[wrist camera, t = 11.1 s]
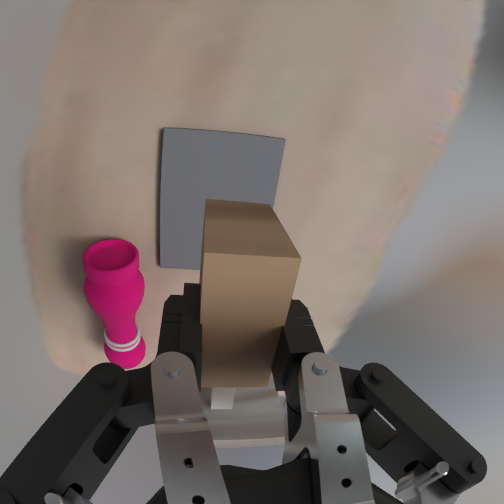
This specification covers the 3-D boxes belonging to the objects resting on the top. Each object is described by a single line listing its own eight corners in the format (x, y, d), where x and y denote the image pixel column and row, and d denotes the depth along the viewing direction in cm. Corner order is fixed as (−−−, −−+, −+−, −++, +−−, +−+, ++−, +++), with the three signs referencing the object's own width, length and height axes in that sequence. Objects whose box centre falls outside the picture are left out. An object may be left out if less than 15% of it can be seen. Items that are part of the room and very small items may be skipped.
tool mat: (164, 127, 26) (163, 128, 26) (284, 138, 29) (285, 139, 28) (161, 264, 34) (160, 267, 34) (260, 270, 37) (260, 272, 36)
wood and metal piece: (157, 195, 12) (129, 247, 8) (313, 208, 13) (362, 262, 9) (164, 379, 17) (160, 445, 13) (269, 380, 19) (284, 443, 14)
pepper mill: (65, 264, 26) (98, 374, 36) (124, 282, 25) (142, 391, 36) (99, 231, 32) (117, 340, 42) (153, 243, 32) (158, 354, 42)
